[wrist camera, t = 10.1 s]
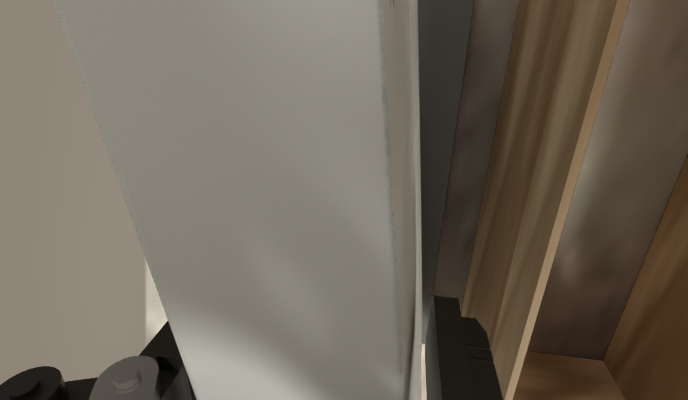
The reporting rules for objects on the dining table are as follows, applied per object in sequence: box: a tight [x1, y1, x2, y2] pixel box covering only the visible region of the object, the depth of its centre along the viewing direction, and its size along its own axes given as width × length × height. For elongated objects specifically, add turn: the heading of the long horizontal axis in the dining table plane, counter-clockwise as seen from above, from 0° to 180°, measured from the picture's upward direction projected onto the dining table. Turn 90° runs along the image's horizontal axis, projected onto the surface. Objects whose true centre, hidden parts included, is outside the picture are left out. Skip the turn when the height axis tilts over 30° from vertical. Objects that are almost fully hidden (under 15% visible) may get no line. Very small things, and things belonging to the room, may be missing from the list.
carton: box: [461, 0, 688, 400], centre depth 17 cm, size 11×27×10 cm, turn 179°
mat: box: [418, 0, 474, 344], centre depth 23 cm, size 9×25×1 cm, turn 179°
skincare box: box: [53, 0, 423, 400], centre depth 15 cm, size 21×5×16 cm, turn 6°
